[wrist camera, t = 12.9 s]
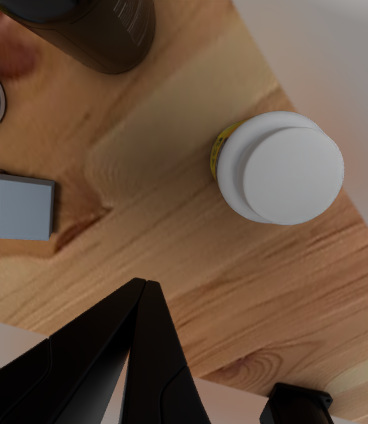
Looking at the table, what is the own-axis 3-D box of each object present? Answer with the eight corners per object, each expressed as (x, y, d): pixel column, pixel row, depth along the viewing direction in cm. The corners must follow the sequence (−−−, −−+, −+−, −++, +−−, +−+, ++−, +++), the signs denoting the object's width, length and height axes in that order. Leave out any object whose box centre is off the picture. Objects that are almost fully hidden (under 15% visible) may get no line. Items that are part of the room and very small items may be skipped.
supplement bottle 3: (204, 128, 18) (215, 115, 8) (276, 115, 18) (375, 87, 8) (213, 196, 20) (230, 251, 10) (279, 186, 19) (363, 234, 10)
